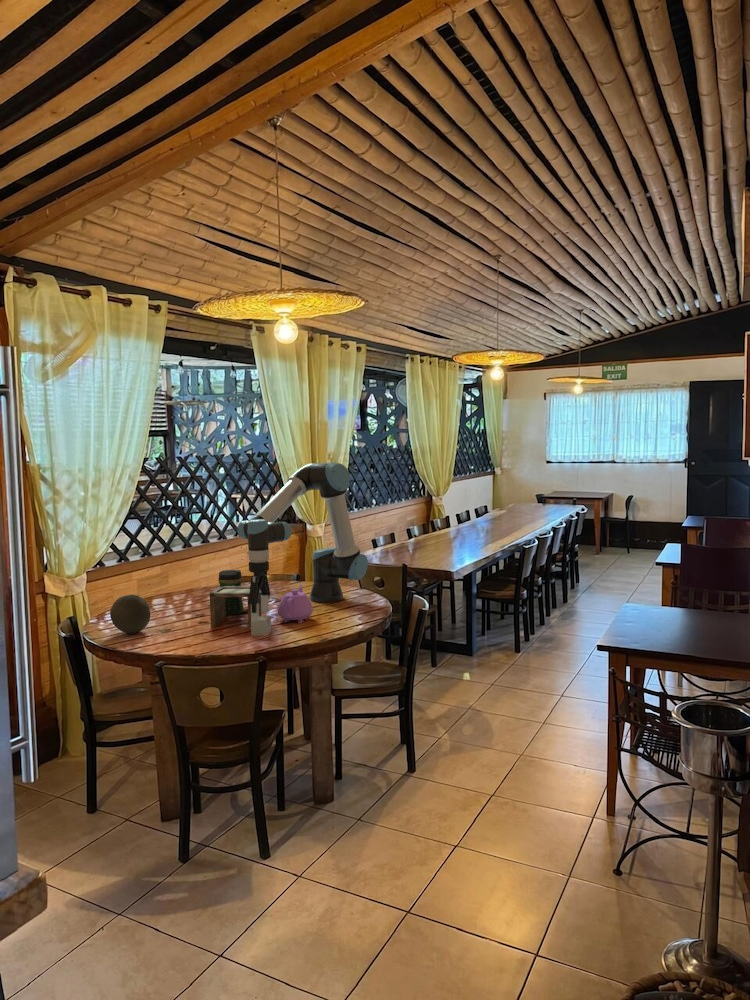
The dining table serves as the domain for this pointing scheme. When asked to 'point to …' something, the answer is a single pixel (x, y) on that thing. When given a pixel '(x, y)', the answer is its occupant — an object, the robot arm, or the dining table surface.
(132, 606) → the dark grey ball
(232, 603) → the coffee jar
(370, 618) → the dining table surface
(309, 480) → the robot arm
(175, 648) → the dining table surface
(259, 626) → the grey cube
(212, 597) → the hatch frame
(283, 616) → the pink rounded figure
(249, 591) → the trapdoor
